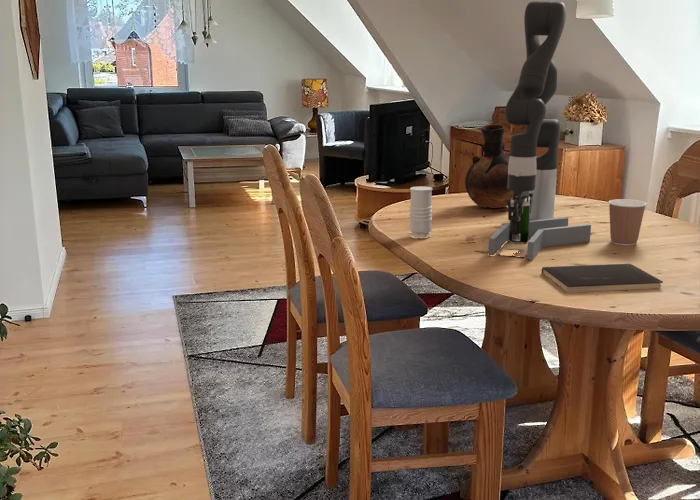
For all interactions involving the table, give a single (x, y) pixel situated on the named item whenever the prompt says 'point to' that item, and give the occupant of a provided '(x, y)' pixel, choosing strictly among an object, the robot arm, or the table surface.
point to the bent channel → (543, 235)
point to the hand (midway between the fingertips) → (519, 232)
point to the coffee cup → (625, 220)
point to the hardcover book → (601, 277)
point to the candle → (420, 211)
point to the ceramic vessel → (490, 171)
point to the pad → (521, 253)
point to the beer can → (521, 227)
